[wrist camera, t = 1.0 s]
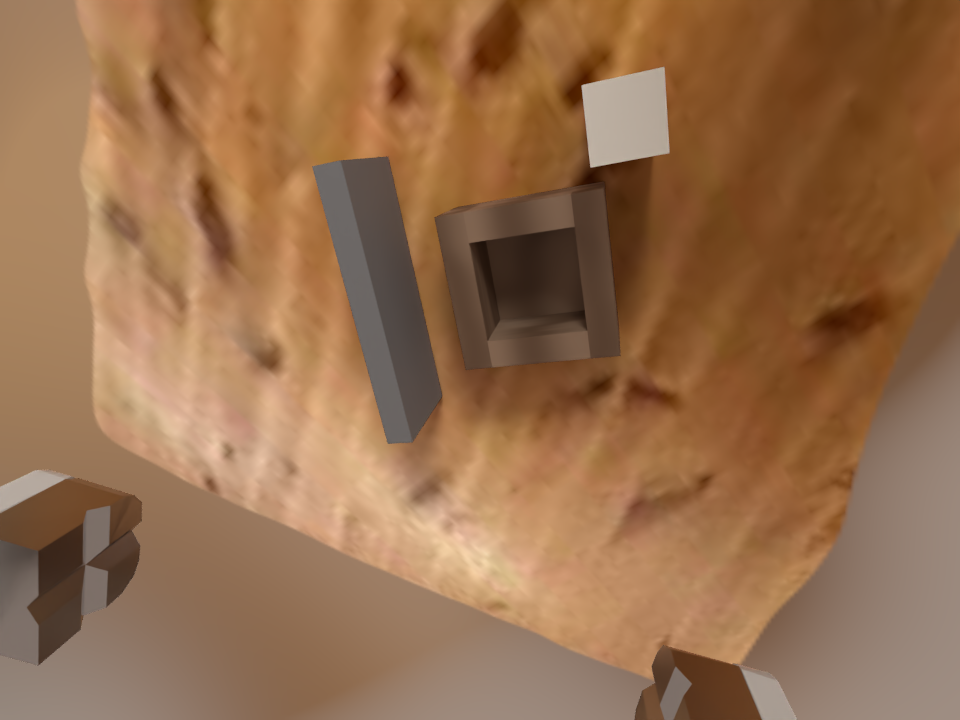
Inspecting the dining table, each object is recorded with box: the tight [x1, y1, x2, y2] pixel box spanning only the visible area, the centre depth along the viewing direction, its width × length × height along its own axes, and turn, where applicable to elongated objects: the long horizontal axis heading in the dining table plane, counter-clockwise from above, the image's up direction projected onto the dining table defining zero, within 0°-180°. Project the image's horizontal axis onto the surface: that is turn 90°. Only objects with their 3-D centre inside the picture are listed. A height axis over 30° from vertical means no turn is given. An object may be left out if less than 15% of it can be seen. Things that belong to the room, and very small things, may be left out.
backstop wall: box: [312, 157, 442, 444], centre depth 41 cm, size 2×20×8 cm, turn 11°
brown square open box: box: [435, 182, 621, 370], centre depth 39 cm, size 11×11×6 cm
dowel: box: [582, 67, 670, 168], centre depth 32 cm, size 4×4×10 cm
